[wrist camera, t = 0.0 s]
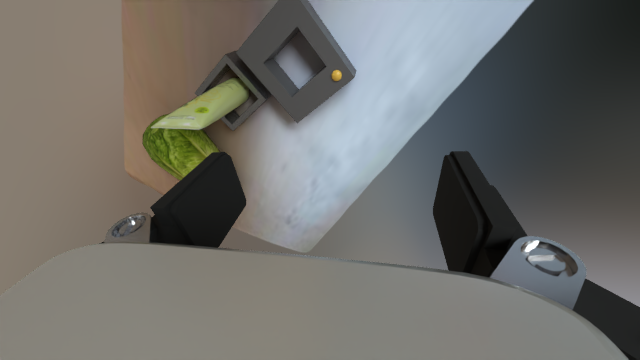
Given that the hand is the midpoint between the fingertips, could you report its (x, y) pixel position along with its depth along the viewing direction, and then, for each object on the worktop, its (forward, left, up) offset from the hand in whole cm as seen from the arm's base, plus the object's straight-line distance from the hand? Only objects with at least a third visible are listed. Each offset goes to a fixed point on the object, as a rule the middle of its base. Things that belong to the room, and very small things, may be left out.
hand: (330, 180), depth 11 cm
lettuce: (-5, -41, -38) cm, 56 cm away
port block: (-6, -9, -37) cm, 39 cm away
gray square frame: (-10, -23, -37) cm, 45 cm away
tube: (-10, -23, -38) cm, 45 cm away
